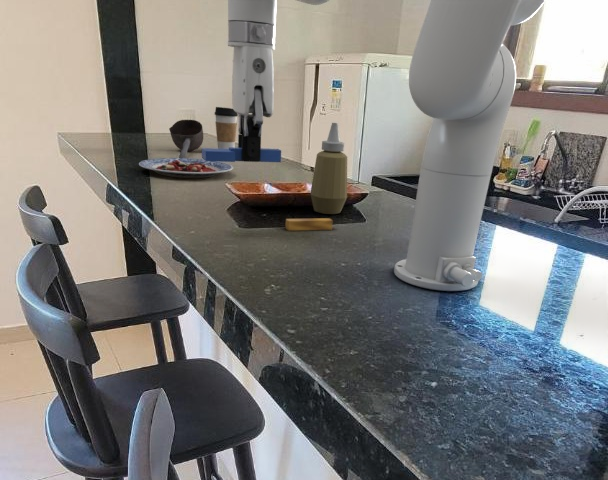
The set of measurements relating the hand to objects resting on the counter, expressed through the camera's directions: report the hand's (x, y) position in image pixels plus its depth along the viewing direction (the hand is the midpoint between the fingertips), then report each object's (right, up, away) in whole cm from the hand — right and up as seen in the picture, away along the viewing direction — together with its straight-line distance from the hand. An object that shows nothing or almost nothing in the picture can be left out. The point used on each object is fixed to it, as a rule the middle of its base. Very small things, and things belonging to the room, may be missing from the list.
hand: (249, 159), depth 93 cm
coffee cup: (-19, +42, +105) cm, 114 cm away
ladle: (-31, +34, +87) cm, 99 cm away
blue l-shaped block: (-1, 0, 0) cm, 1 cm away
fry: (+11, -10, +10) cm, 17 cm away
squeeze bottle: (+15, -3, +24) cm, 29 cm away
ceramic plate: (-23, +18, +57) cm, 64 cm away
